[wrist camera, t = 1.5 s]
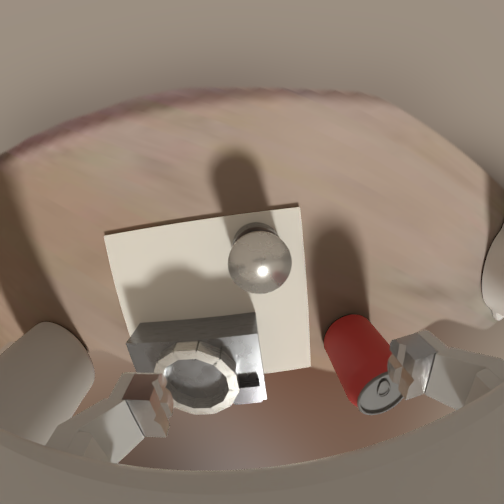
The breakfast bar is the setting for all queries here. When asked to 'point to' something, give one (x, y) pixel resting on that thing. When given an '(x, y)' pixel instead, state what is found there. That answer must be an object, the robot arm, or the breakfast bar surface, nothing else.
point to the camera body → (203, 360)
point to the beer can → (362, 364)
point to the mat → (213, 280)
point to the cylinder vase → (42, 381)
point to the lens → (259, 259)
